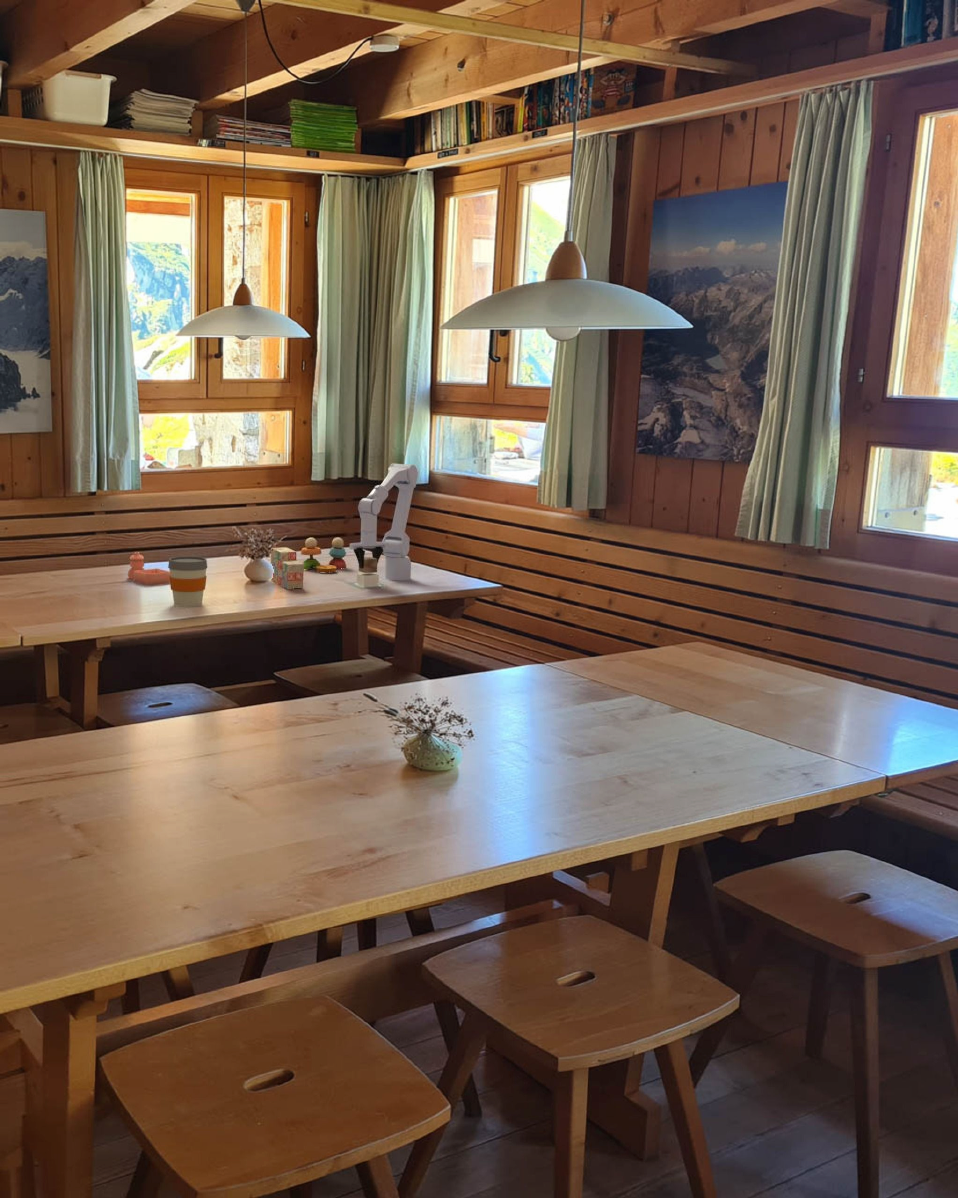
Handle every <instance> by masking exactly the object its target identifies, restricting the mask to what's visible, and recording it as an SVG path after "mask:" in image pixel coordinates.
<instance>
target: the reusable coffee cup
mask: <svg viewBox="0 0 958 1198" xmlns="http://www.w3.org/2000/svg"><path fill="white" fill-rule="evenodd" d="M167 567H168V569H169V570H168V571H169V572H170V576H169V579H170V583H169V586H170V590H171V591H172V597H173V604H175V605H174V606H176V605H177V607H184V608H185V607H186V608H188V607H189V608H190V607H197V606H198V607H199V606H202V604H203V597H204V591H205V590H206V583H207V569H208V561H207V558H206V557H201V556H189V555H188V556H184V555H183V556H174V557H171V558H169V559H168V565H167Z"/></svg>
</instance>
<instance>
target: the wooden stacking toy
mask: <svg viewBox="0 0 958 1198" xmlns="http://www.w3.org/2000/svg"><path fill="white" fill-rule="evenodd" d="M304 545H305V547H302V548H301V551H300V554H301V555H303V556H309V558H307V559H305V560H304V561H303V562H302V563H303V564H304V569H309V570H311V569H310V568H313V569H314V567H316V568H315V569H316V572H317V571H318V572H326V573H325V574H332V573H331V572H335V573H336V571H337V570H344V569H343V568H346V569H347V564H346V561H345V559H343V558H344V557H346V556H347V552H346V550H345V548H344V545H345V542H344V539H342V538H341V537H334V538H333V540H332V541H331V545H332V547H331V548H330V550H329V552H328V555H329V556H330V557H331V558H332V559H331V560H330V561H329V562H328V564H321V563H320V561H319V560H317V559H316V558H314V556H317V555H321V554H322V549H321V548H320V547H317V545H318V541H317V540H316V538H314V537H308V538H306V539H305V542H304ZM341 568H342V569H341ZM318 572H317V573H318ZM329 572H330V573H329Z"/></svg>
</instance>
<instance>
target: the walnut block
mask: <svg viewBox="0 0 958 1198" xmlns="http://www.w3.org/2000/svg"><path fill="white" fill-rule="evenodd" d="M358 572H359V573H374V574H376V573H378V564H377V559H376V558H373V557H372V556H364V566H363V569H361V568H359V567H358Z"/></svg>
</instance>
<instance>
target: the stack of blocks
mask: <svg viewBox="0 0 958 1198" xmlns="http://www.w3.org/2000/svg"><path fill="white" fill-rule="evenodd" d="M272 549H273V551H271V550H272ZM271 564H272V566H273V569H274V573H273V578H272V579H273V580H272V581H273V582H274V581H275V582H274V583H275V584H277V583H278V584H277V585H279V584H280V585H279V586H281V585H282V586H283V587H282V586H281V587H282V588H284V587H285V588H284V589H286V590H295V589H294V588H303V589H304V572H305V570H304V564H303V562H301V561H299V560H297V551H295V550H293V549H291V548H289V547H271V548H270V565H271ZM292 588H293V589H292Z"/></svg>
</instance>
